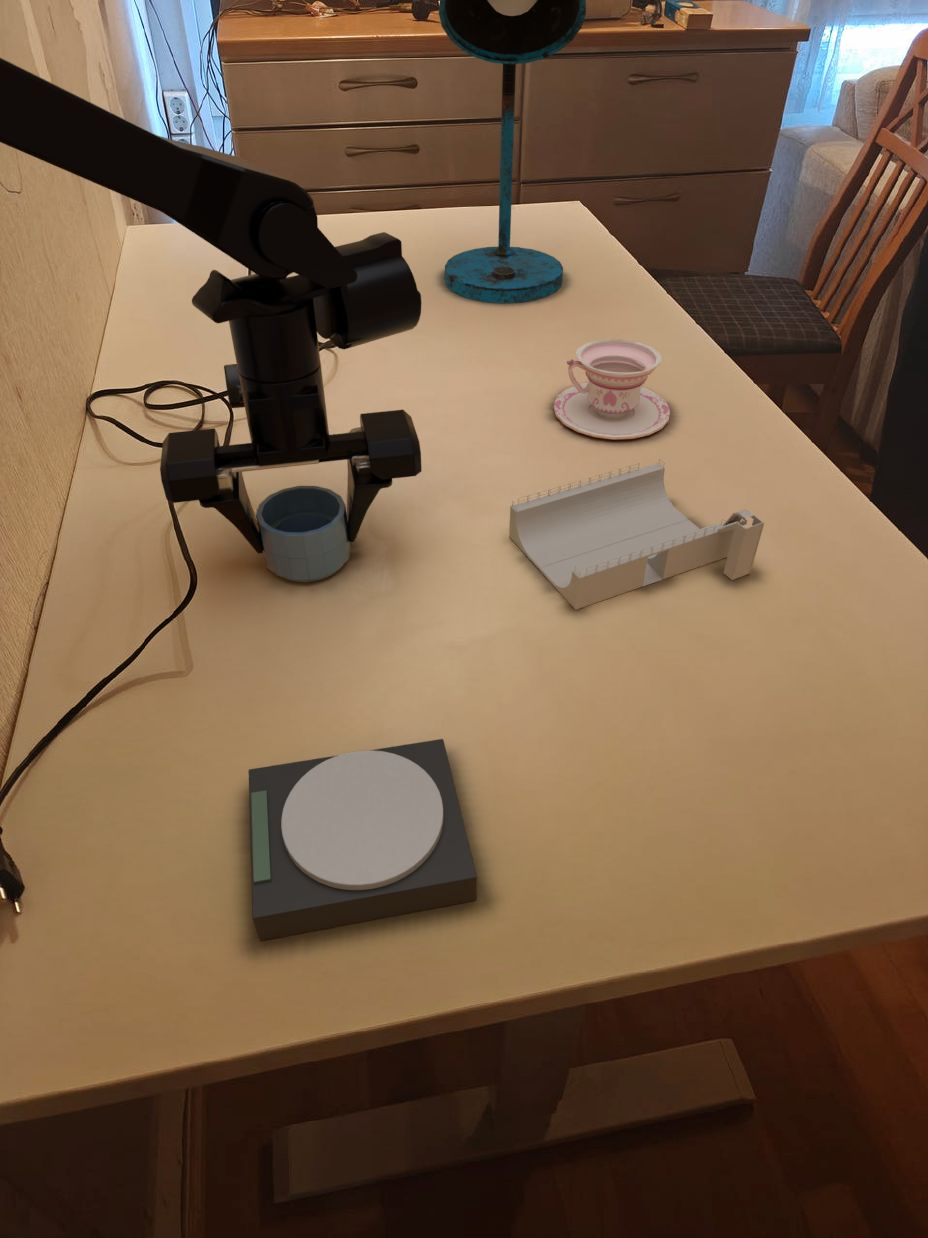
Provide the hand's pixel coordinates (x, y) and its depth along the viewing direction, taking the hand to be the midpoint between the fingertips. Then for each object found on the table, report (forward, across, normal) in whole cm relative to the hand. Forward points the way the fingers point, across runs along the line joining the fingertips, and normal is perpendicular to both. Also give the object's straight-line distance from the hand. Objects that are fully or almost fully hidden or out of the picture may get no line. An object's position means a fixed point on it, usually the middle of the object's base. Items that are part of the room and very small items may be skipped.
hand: (306, 544), depth 71 cm
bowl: (+2, 0, 0) cm, 2 cm away
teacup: (+2, -33, -19) cm, 38 cm away
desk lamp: (+2, -30, -55) cm, 62 cm away
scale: (+2, -1, +28) cm, 28 cm away
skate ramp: (+2, -26, +5) cm, 26 cm away
